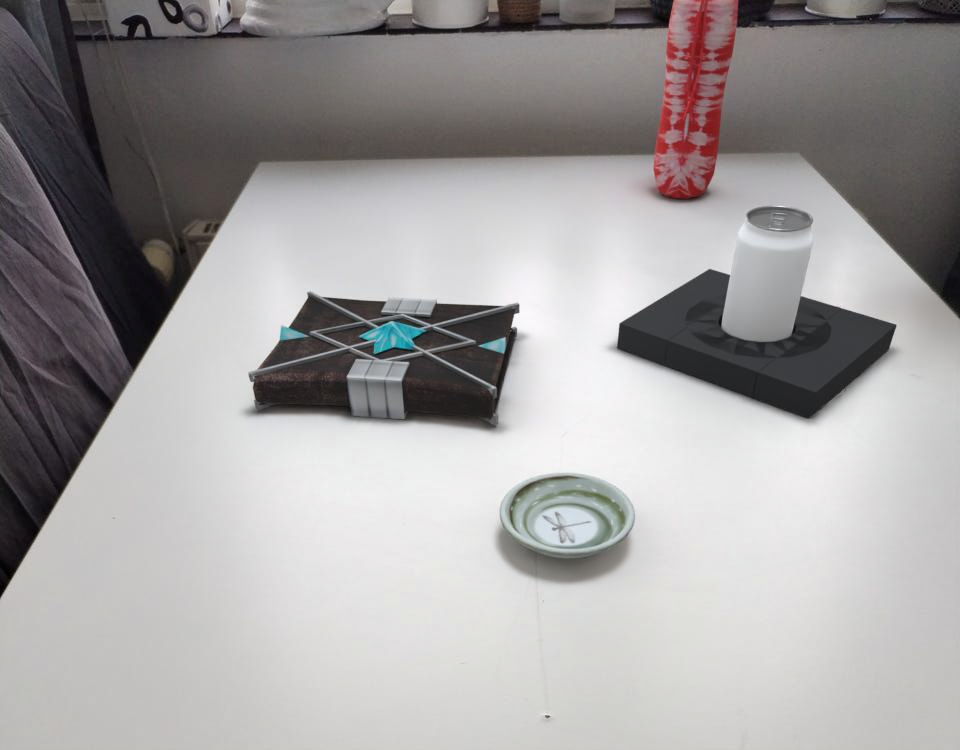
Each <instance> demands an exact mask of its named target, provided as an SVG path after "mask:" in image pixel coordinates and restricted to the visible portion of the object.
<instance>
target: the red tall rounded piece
mask: <svg viewBox="0 0 960 750" xmlns="http://www.w3.org/2000/svg"><path fill="white" fill-rule="evenodd" d="M738 12H739V0H673V2H672V6H671V12H670V18H669V22H668V31H667V41H666V47H665V48H666V51H665V80H664V90H663V100H662V107H661V113H660V118H659V124H658V130H657V136H656V142H655V148H654V158H653V174H654V179H655V184H656V189H657V190H658V192H659V193H660V194H661V195H664V196H666V197H668V198H672V199H677V200H680V199H681V200H684V199H685V200H687V199H689V200H690V199H693V198H698V197H700V196H701V195H703V194H704V193H705V192H706V190H707V189H708V187H709V185H710V183H711V181H712V180H713V177H714V175H715V170H716V164H717V160H718V153H719V144H720V143H719V142H720V132H721V120H722V110H723V108H722V107H723V102H724V97H725V90H726V84H727V79H728V75H729V70H730V66H731V61H732V57H733V53H734V48H735V47H734V46H735V40H736V31H737V27H738Z"/></svg>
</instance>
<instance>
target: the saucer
mask: <svg viewBox="0 0 960 750" xmlns="http://www.w3.org/2000/svg"><path fill="white" fill-rule="evenodd" d="M635 512H636V511H635V508H634V505H633V503H632V501H631V500H630V498H629V497H628V496H627V495H626V494H625V493H624V491H622V490H621V489H620V488H619V487H617V486H616V485H614V484H612V483H611V482H609V481H606V480H604V479H601V478H600V477H599V478H598V477H596V476H593V475H588V474H584V473H579V472H578V473H577V472H552V473H551V472H550V473H545V474H540V475H535V476H533V477H530V478H527V479H526V480H523V481H522V482H519V483H517V484H516V485H514V486H513V487H512V488H511V489H510V490H509V491H508V492H507V493H506V494H505V496H504V497H503V498H502V500H501V503H500V507H499V520H500V522H501V526H502V528H503V529H504V531H505V532H506V533H507V534H508V535H509V536H510V537H511V538H512V539H513V540H514V541H516V542H517V543H518V544H520V545H521V546H524V547H525V548H527V549H530V550H531V551H533V552H535V553H538V554H541V555H544V556H546V557H547V556H548V557H552V558H557V559H558V558H559V559H581V558H587V557H591V556H595V555H597V554H600V553H603V552H606V551H608V550H611V549H612V548H614V547H616V546H618V545H619V544H620V543H621V542H623V541H624V540H625V539H626V538H627V537H628V536H629V534H630V533H631V531H632V530H633V528H634V524H635V520H636V513H635Z"/></svg>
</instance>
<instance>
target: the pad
mask: <svg viewBox="0 0 960 750" xmlns="http://www.w3.org/2000/svg"><path fill="white" fill-rule="evenodd" d="M729 279H730V273H725V272H722V271H718V270H716V269H712V268H708V269H707V270H705V271H703V272H702V273H700V274H698V275H697V276H695V277H693V278H692V279H690V280H689V281H687V282H685V283H684V284H682V285H680V286H679V287H676V288H675V289H674V290H672V291H670V292H669V293H667V294H665V295H664V296H662V297H660V298H658V299H657V300H655V301H654V302H652V303H651V304H649V305H647V306H646V307H644V308H642V309H641V310H639V311H637V312H636V313H634V314H633V315H631V316H629V317H627V318H626V319H624V320H622V321H621V322H619V323H618V334H617V345H616V346H617V347H616V348H617V349H619V350H622V351H625V352H627V353H630V354H632V355H635V356H638V357H641V358H644V359H646V360H649V361H652V362H654V363H657V364H659V365H663V366H665V367H668V368H671V369H673V370H676V371H678V372H682V373H684V374H687V375H690V376H692V377H695V378H698V379H701V380H703V381H707V382H709V383H712V384H715V385H717V386H719V387H722V388H725V389H727V390H730V391H734V392H736V393H738V394H742V395H744V396H746V397H750V398H753V399H756V401H757V400H758V401H761V402H764V403H766V404H768V405H771V406H773V407H775V408H779V409H782V410H785V411H788V412H790V413H793V414H795V415H799V416H801V417H804V418H807V419H810V418H811V417H813V416H814V415H815V414H816V413H817V412H818V411H820V410H821V409H822V408H823V407H825V405H826V404H828V403H829V402H830V401H831V400H832V399H833V398H834V397H836V396H837V395H838V394H840V393H841V392H842V391H843V390H844V389H845V388H846V387H847V386H848V385H850V384H851V383H852V382H853V381H855V380H856V379H857V378H858V377H859V376H860V375H861V374H862V373H864V371H866V370H867V369H868V368H869V367H871V366H872V365H873V364H874V363H875V362H876V361H878V360H879V359H880V358H881V357H883V356H884V355H885V354H886V353H887V352H888V351H889V350H890V348H891V345H892V342H893V338H894V335H895V332H896V329H897V324H896V323H892V322H889V321H886V320H883V319H878V318H876V317H873V316H869V315H867V314H862V313H860V312H856V311H852V310H849V309H846V308H843V307H839V306H836V305H832V304H829V303H825V302H823V301H818V300H816V299H812V298H809V297H806V296H803V295H801V297H800V301H799V305H798V309H797V314H796V318H795V322H794V326H793V330H792V334H791V336H790V337H788V338H785V339H782V340H778V341H771V342H757V341H749V340H743V339H740V338H737V337H734V336H731V335H729V334H728V333H726V332H725V331H723V330H722V329H721V324H722V318H723V312H724V307H725V301H726V295H727V290H728V284H729Z"/></svg>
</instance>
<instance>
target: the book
mask: <svg viewBox="0 0 960 750" xmlns="http://www.w3.org/2000/svg"><path fill="white" fill-rule="evenodd" d="M306 294H307V298H306V300H305V301H304V303H303V304H302V306H301V308H300V309H299V311H298V312H297V314H296V316H295V318H294V319H293V320H292V322H291V323H290V325H289V326H285V325H283V324H280V333H279V341H278V342H277V343H276V345H275V346H274V347H273V349H272V350H271V351H270V353H269V354H268V355H267V356H266V358H264V360H263V361H262V363H261V364H260V365H259V366H258V368H257V369H255V370H251V371H248V372H247V374H248V377H249V381H250V383H252V391H253V395H254V396H253V397H254V399H253V402H254V403H253V404H254V407H255V410H261V409H266V408H269V407H273V406H276V405H316V406H336V407H337V406H339V407H349V408H350V415H351V417H364V418H365V417H366V418H380V419H393V420H394V419H395V420H406V417H407V414H408V412H414V413H428V414H436V415H437V414H438V415H449V416H461V417H469V418H470V417H471V418H480V419H481V420H483V421H485V422H487V423H489V424H490V425H492V426H494V427H497V426H498V425H499V414H496V412H497V407H498V405H499V399H500V395H501V391H502V386H503V383H504V379H505V376H506V372H507V368H508V364H509V360H510V356H511V354H512V350H513V346H514V342H515V338H517V337H518V328H517V326H513V322H514V318H515V315H517V314H519V313H520V303H519V302H514V303H510V304H507V305H492V304H491V305H488V304H466V303H465V304H460V303H438V299H431V298H430V299H429V298H413V297H412V298H411V297H393V296H391V297H390V296H389V297H388V298H387V300H385V301H384V300H365V299H351V298H343V297H330V296H329V297H328V296H321V295H318V294H317V293H315V292H313V291H311V290H309V291H307V292H306Z"/></svg>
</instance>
